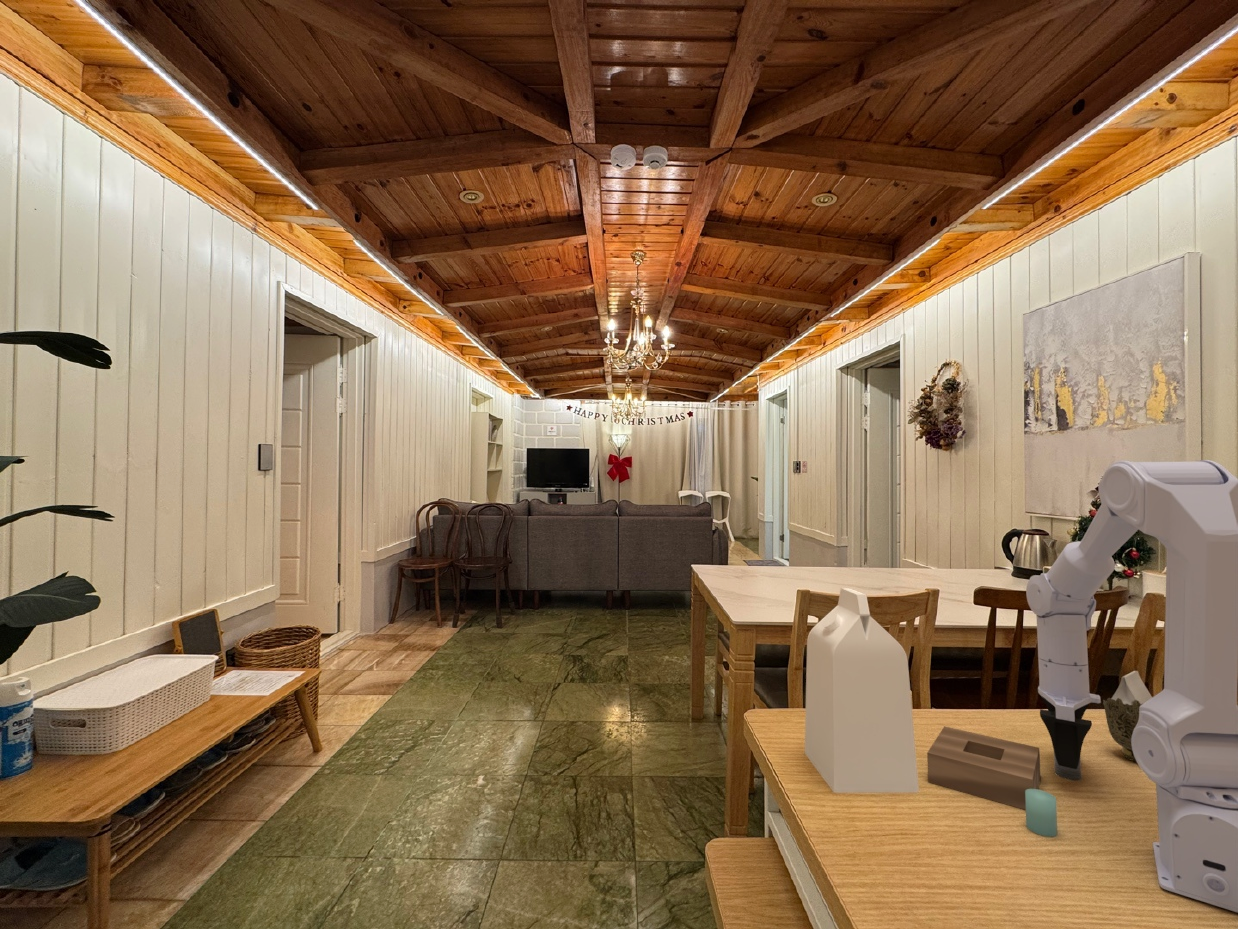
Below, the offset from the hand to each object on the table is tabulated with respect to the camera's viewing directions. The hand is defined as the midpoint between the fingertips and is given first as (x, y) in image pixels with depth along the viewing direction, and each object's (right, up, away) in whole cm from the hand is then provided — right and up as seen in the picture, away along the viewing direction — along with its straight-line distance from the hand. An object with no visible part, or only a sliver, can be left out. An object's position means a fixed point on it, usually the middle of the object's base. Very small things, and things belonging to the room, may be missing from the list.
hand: (1067, 756), depth 82 cm
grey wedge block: (+22, -4, +14) cm, 26 cm away
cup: (+14, -3, +5) cm, 16 cm away
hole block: (-13, -3, -1) cm, 13 cm away
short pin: (-14, -2, -13) cm, 19 cm away
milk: (-30, -3, +1) cm, 30 cm away
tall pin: (0, -3, 0) cm, 3 cm away
